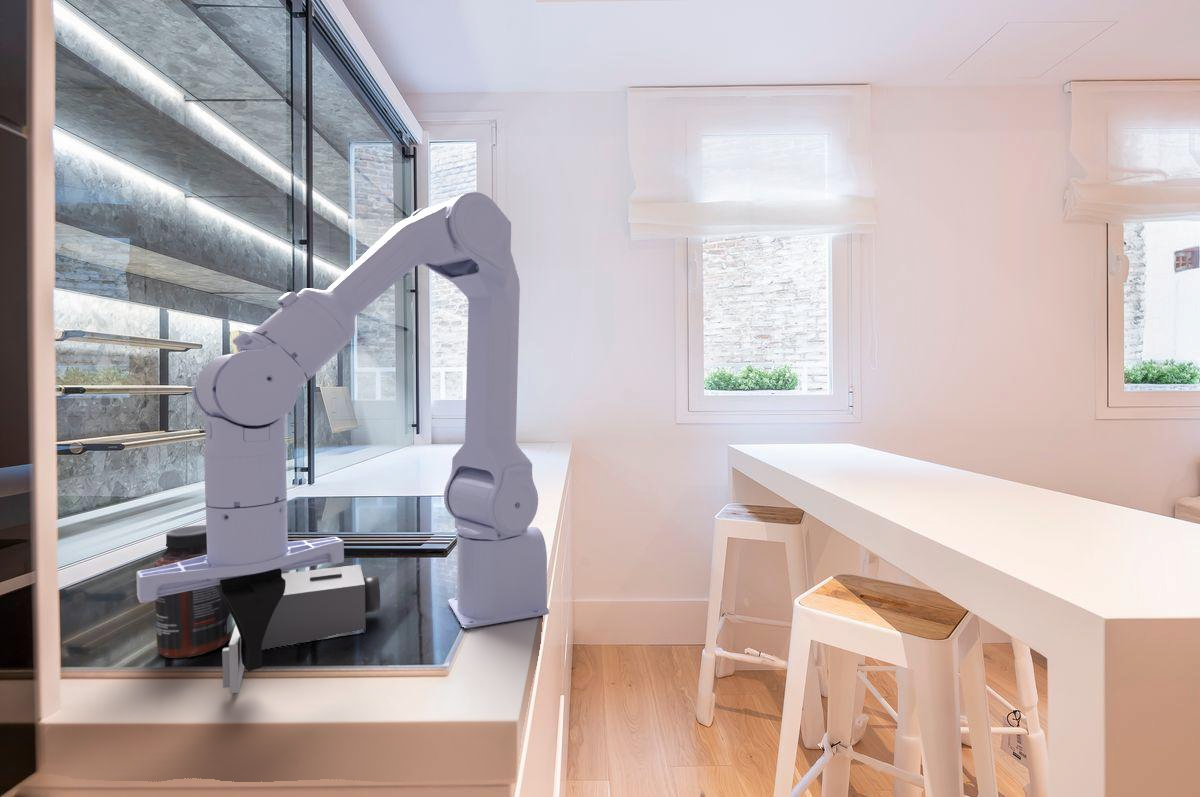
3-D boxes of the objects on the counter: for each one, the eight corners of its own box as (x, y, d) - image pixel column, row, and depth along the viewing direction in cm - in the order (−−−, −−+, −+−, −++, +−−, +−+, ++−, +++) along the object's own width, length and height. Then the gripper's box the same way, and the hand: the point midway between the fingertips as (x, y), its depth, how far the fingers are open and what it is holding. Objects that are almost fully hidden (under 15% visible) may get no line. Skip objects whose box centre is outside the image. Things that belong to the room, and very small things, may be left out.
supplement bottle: (245, 635, 61) (243, 522, 61) (201, 663, 56) (198, 539, 55) (189, 632, 62) (187, 521, 62) (140, 659, 56) (136, 536, 56)
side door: (240, 692, 50) (239, 643, 50) (222, 695, 49) (221, 646, 49) (250, 649, 57) (249, 607, 57) (235, 651, 57) (234, 609, 57)
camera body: (376, 606, 69) (376, 557, 69) (383, 630, 63) (382, 576, 62) (246, 625, 64) (245, 572, 63) (239, 653, 57) (238, 594, 57)
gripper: (323, 483, 58) (326, 625, 58) (129, 506, 48) (135, 676, 49) (351, 494, 52) (354, 650, 53) (141, 522, 43) (147, 713, 43)
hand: (251, 665), depth 50 cm, fingers closed
